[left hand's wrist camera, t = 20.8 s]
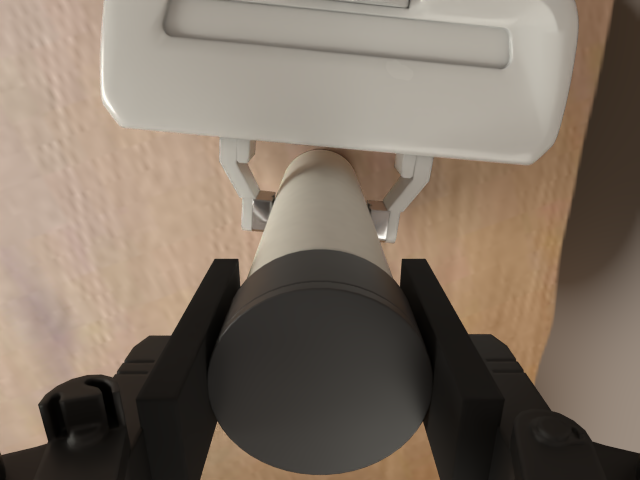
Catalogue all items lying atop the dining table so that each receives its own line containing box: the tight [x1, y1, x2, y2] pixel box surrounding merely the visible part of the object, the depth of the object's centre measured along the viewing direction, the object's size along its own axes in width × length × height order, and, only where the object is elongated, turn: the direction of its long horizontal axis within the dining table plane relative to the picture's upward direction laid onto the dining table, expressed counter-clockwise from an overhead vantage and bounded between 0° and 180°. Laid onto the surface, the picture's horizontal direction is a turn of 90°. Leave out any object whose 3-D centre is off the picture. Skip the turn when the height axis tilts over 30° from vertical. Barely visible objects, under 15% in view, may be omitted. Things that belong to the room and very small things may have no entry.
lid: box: [207, 249, 433, 475], centre depth 11 cm, size 5×5×2 cm
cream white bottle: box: [247, 150, 393, 279], centre depth 20 cm, size 5×5×19 cm
